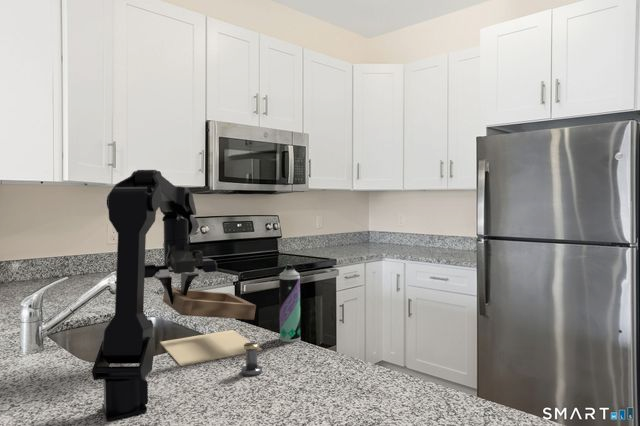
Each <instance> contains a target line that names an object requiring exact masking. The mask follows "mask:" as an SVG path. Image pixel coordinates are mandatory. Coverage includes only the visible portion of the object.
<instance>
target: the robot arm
mask: <svg viewBox="0 0 640 426" xmlns="http://www.w3.org/2000/svg"><path fill="white" fill-rule="evenodd" d="M106 207H107V210H108V219H109V222H110V223H111V225H112V226H113V228H114V229H115V231H116V233H117V247H116V248H117V249H116V250H117V251H116V254H117V255H116V273H115V274H116V279H115V305H114V315H113V317H112V318H111V320H110V321H109V323H108V324H107V326H106V327H105V328H104V331H103V339H102V341H101V343H100V346H99V350H98V352H97V355H96V358H95V361H94V363H93V366H92V369H91V373H92V377H93V381H98V380H100V381H101V380H103V404H102V405H101V406H102V408H101V409H102V411H103V413H104V414H103V415H104V418H105V420H106V421H107V422H109V421H113V420H117V419H118V420H119V419H121V418H126V417H130V416H131V417H132V416H134V415H139V414H143V413H146V412H148V407H147V406H146V405H148V403H149V393H148V392H149V391H148V390H149V388H148V387H149V386H148V385H149V383H148V382H149V381H148V380H147V379H146V377H147V376H148V375H149V374H150V373H151V371H152V370H153V367H154V365H153V364H154V355H155V354H154V353H155V348H156V347H155V344H156V343H155V338H154V337H153V336H154V335H153V332H154V323H153V320H152V319H148V318H147V316H146V314H145V312H144V301H145V299H144V297H145V279H147V278H155V279H156V280H158V281H160V283H161V285H162V286H163V289H164V292H166V294H167V297H168V299H169V302H170V304H173V293H172V288H173V286H172V280H173V279H172V278H173V277H172V276H171V275H170V273H174V274H175V275H179V274H181V275H180V289H181V294H183V295H185V296H186V295H187V292H188V290H190V289H189V288H190V286H191V284H192V282H193V280H195V278H196V277H199V276H200V274H199V273H198V272H199V271H201V270H202V271H203V272H204V273H215V272H218V263H217V261H216V260H214V259H211V258H204V255H203V251H202V250H193V252H192V251H191V245H190V243H189V237H192V236H194V235H195V234H196V233H197V232H198V231H199V222H198V219H197V218H196V217H194V216H196V215H197V209H196V205H195V200H194V195H193V192H191V190H190V188H188V187H186V186H185V187H184V186H176V185H174V184H173V183H171V182H170V181H169V180H168V179H167V178H165V176H163V175H162V172H161V171H159V170H157V169H137V170H134V171H133V172H132V173H131V175H130V176H129V177H126V178H125V179H123V180H121V181H119V182H118V183H116V184H115V185H114V186H113V188H112V189H111V191H110V192H109V193H108V194H107V197H106ZM158 209H159V210H160V212H161V213H162V215H163V216H162V222H163V243H162V245H163V264H162V265H161V264H160V265H156V264H155V263H152V262H146V243H147V242H146V239H147V238H146V237H147V234H148V233H149V230H150V229H151V228H152V227H153V225H154V224H155V221H156V219H157V218H156V214H157V211H158ZM118 364H119V365H120V366H116V365H118ZM121 364H122V365H123V366H121ZM126 364H131V365H132V364H134V365H133V366H131V365H130V366H128V365H127V366H125V365H126ZM135 364H136V366H135ZM137 364H138V366H137ZM111 365H115V366H111Z"/></svg>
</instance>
